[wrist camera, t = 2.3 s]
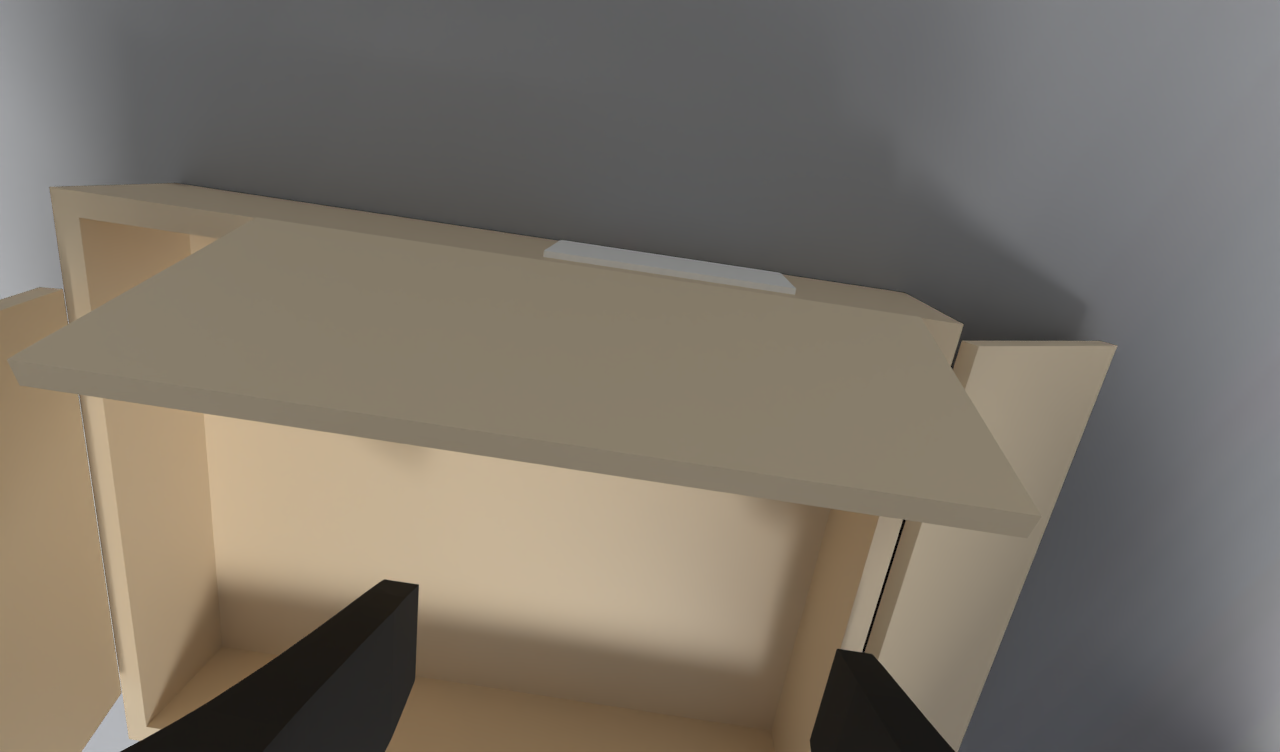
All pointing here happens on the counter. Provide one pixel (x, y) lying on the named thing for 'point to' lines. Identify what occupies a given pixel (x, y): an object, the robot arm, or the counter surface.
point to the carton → (538, 535)
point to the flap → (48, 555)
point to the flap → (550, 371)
